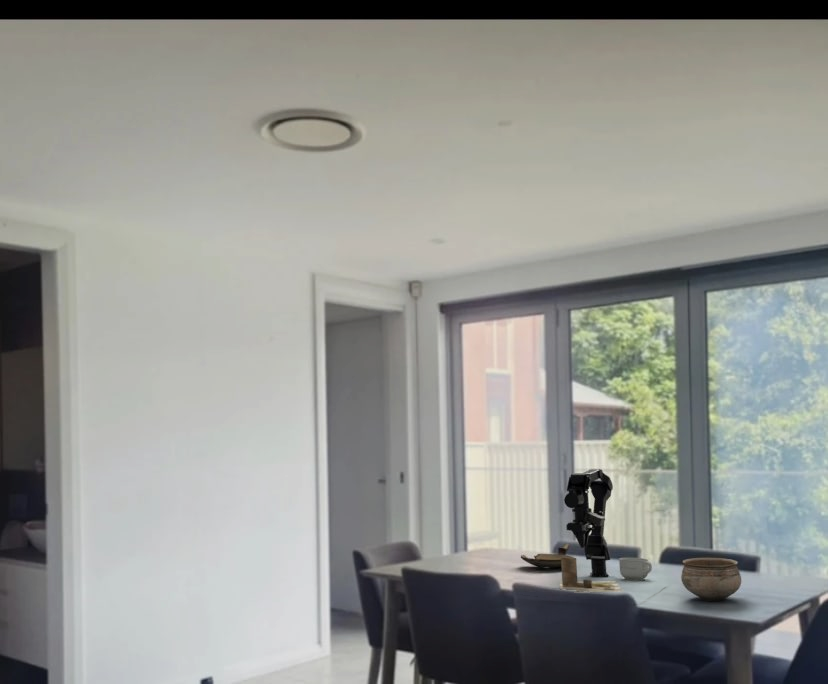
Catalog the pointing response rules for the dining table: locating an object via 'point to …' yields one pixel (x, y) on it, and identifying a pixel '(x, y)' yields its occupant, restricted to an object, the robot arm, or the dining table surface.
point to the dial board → (595, 589)
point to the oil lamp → (548, 558)
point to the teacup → (634, 568)
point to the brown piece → (575, 575)
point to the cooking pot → (711, 577)
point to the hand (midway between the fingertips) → (583, 547)
